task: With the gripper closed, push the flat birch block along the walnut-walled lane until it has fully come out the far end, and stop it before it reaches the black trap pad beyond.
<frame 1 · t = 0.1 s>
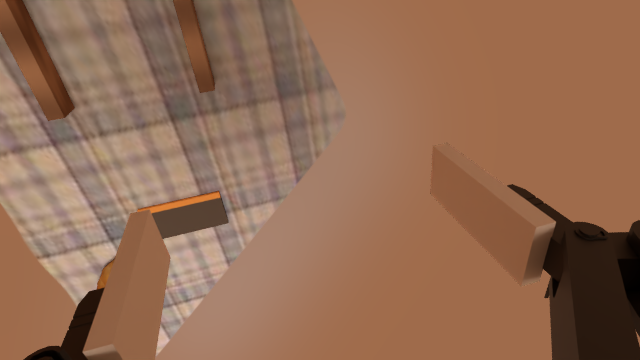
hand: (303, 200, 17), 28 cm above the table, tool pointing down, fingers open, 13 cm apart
trap pad: (185, 215, 47), on the table
lane: (108, 15, 35), on the table
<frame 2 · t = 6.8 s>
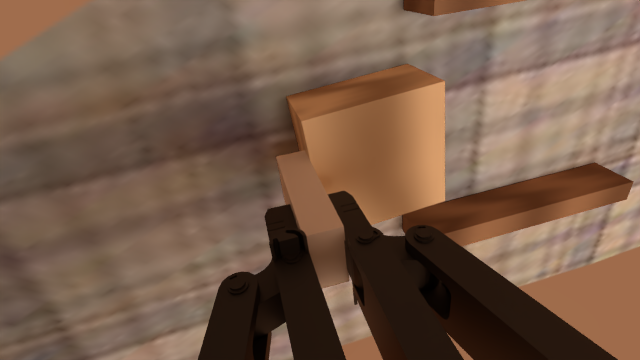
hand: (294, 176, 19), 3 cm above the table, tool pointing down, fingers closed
block: (355, 136, 22), on the table, touching gripper
lane: (518, 101, 23), on the table
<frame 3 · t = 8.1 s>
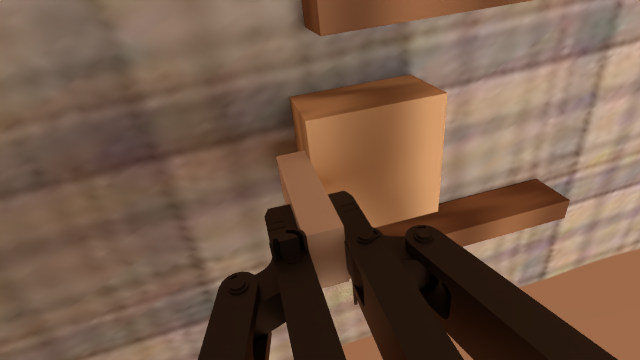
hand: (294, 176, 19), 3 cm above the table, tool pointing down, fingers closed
block: (354, 141, 22), on the table, touching gripper
lane: (444, 118, 22), on the table
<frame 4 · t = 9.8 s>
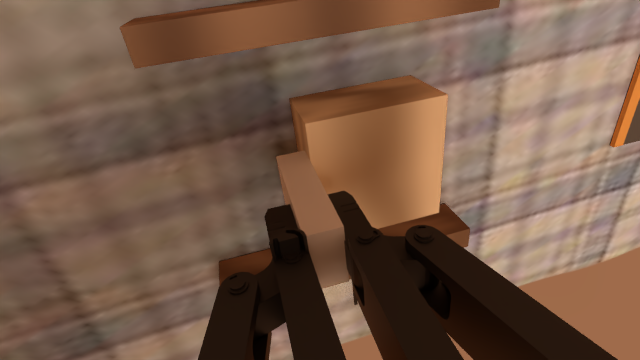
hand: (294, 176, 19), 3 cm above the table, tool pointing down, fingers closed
block: (354, 142, 22), on the table, touching gripper
lane: (328, 145, 21), on the table
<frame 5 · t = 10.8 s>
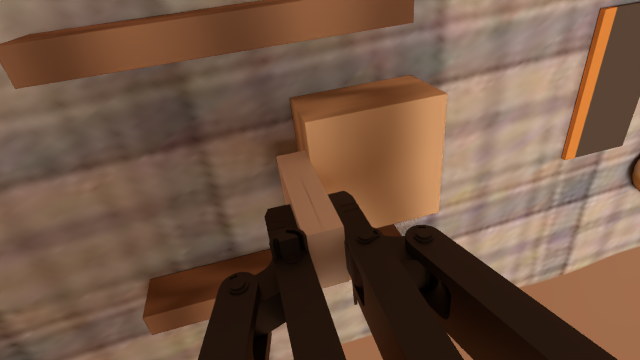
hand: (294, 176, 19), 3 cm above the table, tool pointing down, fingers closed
trap pad: (610, 84, 24), on the table
block: (354, 142, 22), on the table
lane: (256, 161, 21), on the table
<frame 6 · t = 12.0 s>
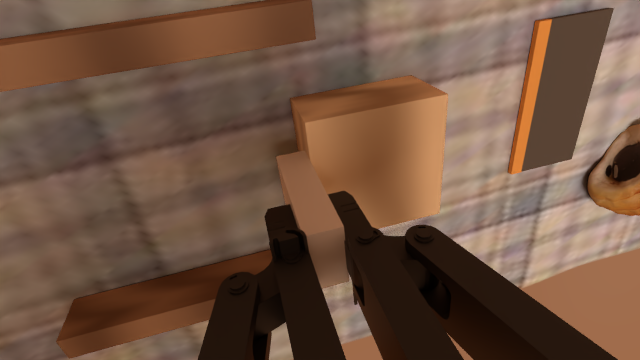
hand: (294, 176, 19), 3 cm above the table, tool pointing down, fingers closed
trap pad: (553, 97, 24), on the table
block: (354, 142, 22), on the table, touching gripper
lane: (175, 178, 20), on the table
pastry: (624, 165, 29), on the table
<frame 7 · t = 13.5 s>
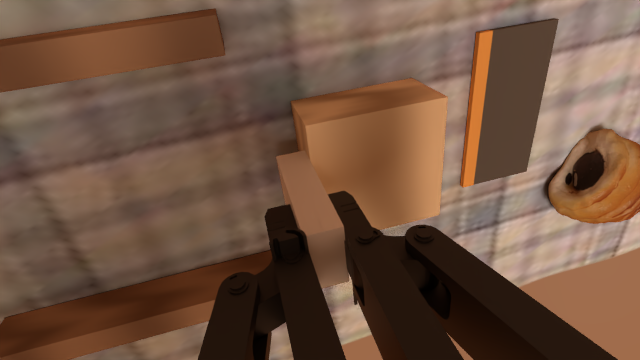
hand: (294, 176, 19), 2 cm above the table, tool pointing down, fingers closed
trap pad: (502, 109, 23), on the table
block: (355, 144, 22), on the table
lane: (102, 195, 19), on the table
pastry: (587, 171, 28), on the table
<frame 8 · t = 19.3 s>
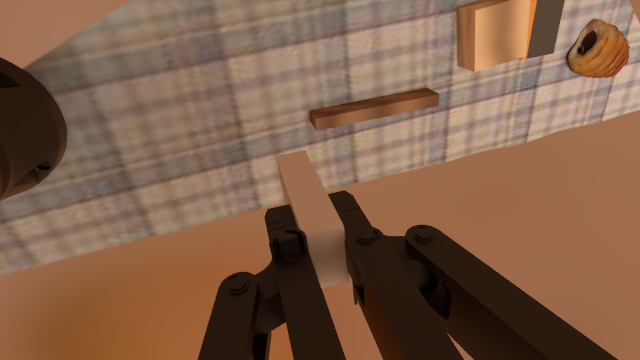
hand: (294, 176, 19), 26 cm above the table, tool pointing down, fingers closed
trap pad: (543, 16, 47), on the table
block: (480, 29, 46), on the table
lane: (367, 46, 43), on the table
pastry: (589, 49, 52), on the table
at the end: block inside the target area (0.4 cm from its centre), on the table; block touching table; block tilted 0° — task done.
